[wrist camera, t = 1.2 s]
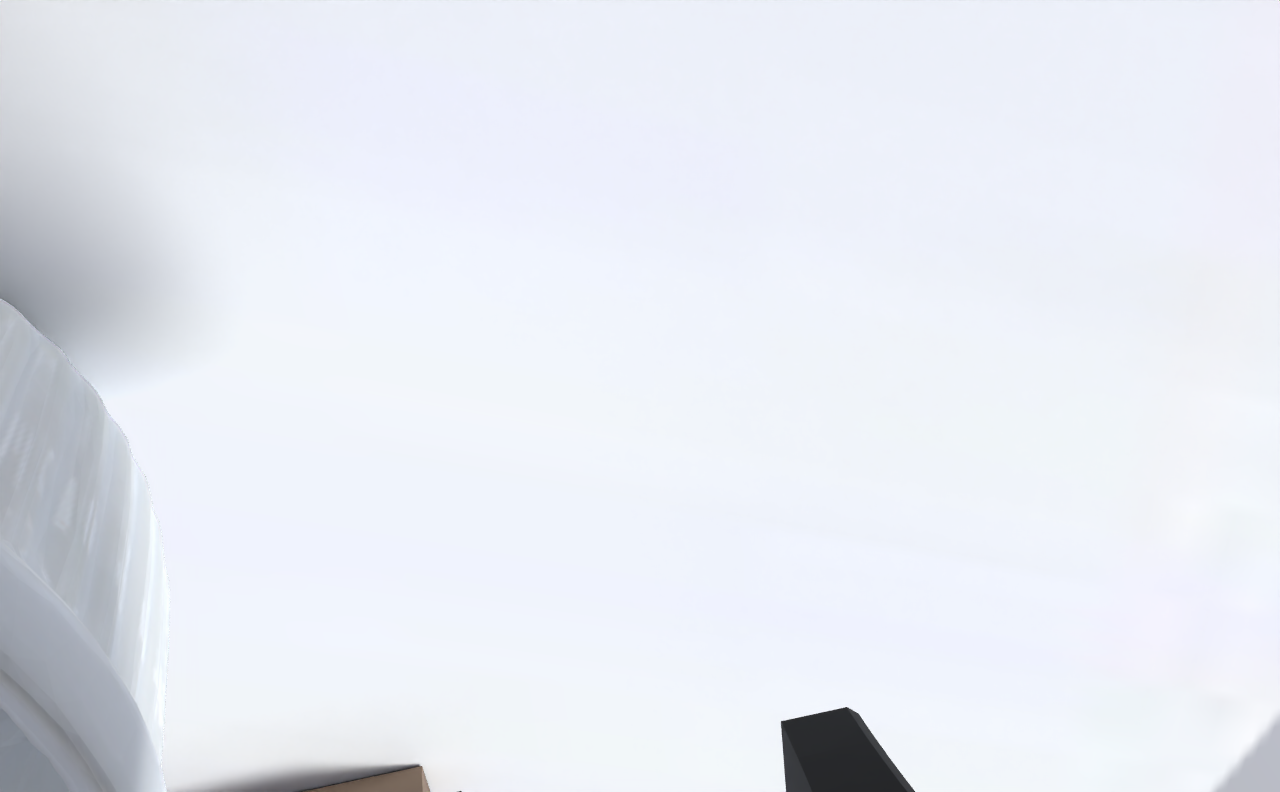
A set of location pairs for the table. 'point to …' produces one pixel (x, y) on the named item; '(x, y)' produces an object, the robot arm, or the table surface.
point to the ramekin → (75, 584)
